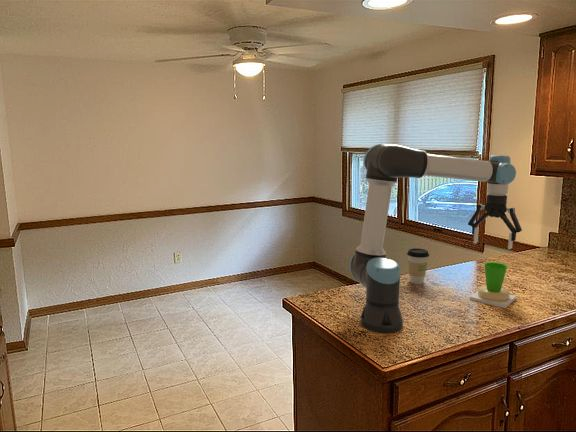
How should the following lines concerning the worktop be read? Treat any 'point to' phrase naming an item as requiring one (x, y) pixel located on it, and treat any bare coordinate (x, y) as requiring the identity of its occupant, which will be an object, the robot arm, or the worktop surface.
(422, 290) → the worktop surface
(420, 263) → the coffee cup
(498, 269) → the cup
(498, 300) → the domed square tile
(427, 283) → the worktop surface
